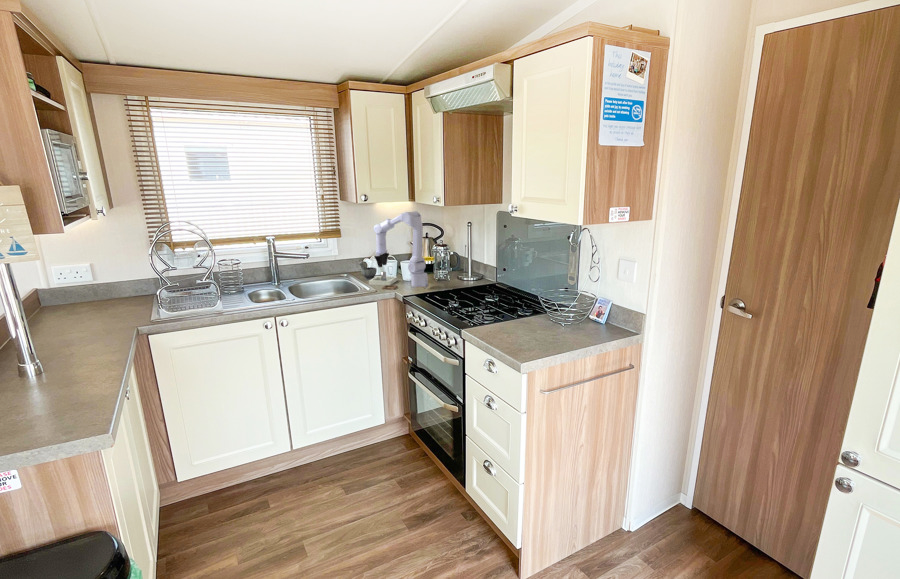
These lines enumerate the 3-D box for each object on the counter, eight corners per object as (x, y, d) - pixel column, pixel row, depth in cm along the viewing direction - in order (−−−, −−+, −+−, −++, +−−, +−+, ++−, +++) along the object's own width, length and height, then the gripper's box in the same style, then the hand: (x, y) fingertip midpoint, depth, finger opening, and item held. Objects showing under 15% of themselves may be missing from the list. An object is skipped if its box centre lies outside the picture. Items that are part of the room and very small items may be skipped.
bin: (397, 282, 273) (397, 276, 272) (390, 287, 261) (389, 281, 260) (377, 281, 276) (376, 276, 275) (369, 286, 263) (368, 280, 262)
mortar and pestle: (375, 277, 290) (374, 259, 287) (378, 279, 282) (377, 261, 279) (358, 278, 286) (357, 260, 283) (361, 281, 277) (360, 262, 275)
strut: (383, 282, 271) (382, 271, 269) (388, 283, 269) (388, 271, 267) (379, 283, 267) (378, 272, 266) (384, 284, 265) (384, 273, 264)
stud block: (400, 288, 257) (400, 284, 256) (395, 292, 247) (395, 288, 247) (384, 288, 259) (384, 284, 258) (378, 292, 249) (378, 288, 249)
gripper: (379, 242, 276) (380, 263, 279) (370, 245, 262) (371, 268, 265) (390, 242, 274) (391, 264, 277) (381, 245, 260) (383, 268, 263)
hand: (382, 266), depth 271 cm, fingers open, 7 cm apart
